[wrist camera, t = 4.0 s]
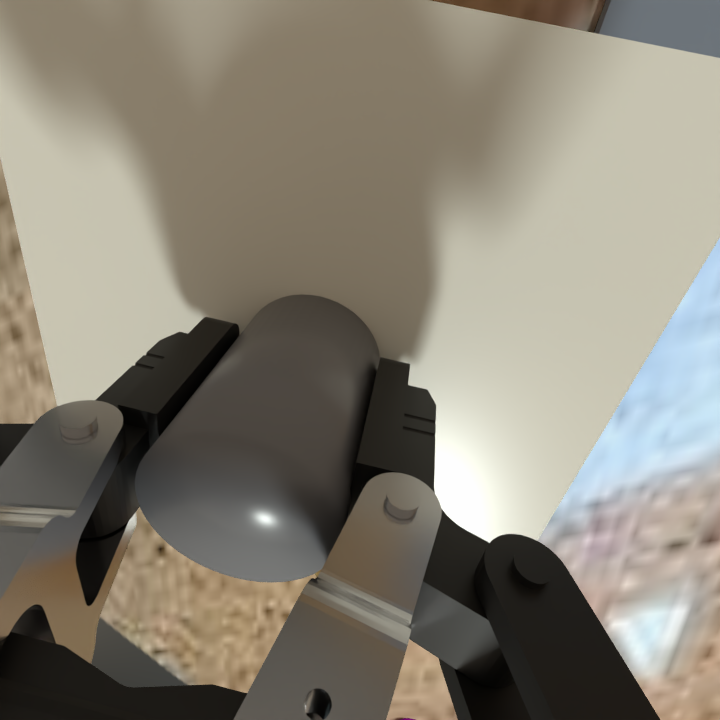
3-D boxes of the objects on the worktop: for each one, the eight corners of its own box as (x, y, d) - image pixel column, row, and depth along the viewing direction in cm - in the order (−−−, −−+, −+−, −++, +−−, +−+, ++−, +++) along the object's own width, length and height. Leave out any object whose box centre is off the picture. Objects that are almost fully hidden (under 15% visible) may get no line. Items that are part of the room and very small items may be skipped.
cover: (778, 77, 8) (1293, 77, 3) (500, 568, 16) (526, 789, 11) (-10, -81, 9) (-604, -285, 4) (94, 469, 17) (-54, 636, 12)
